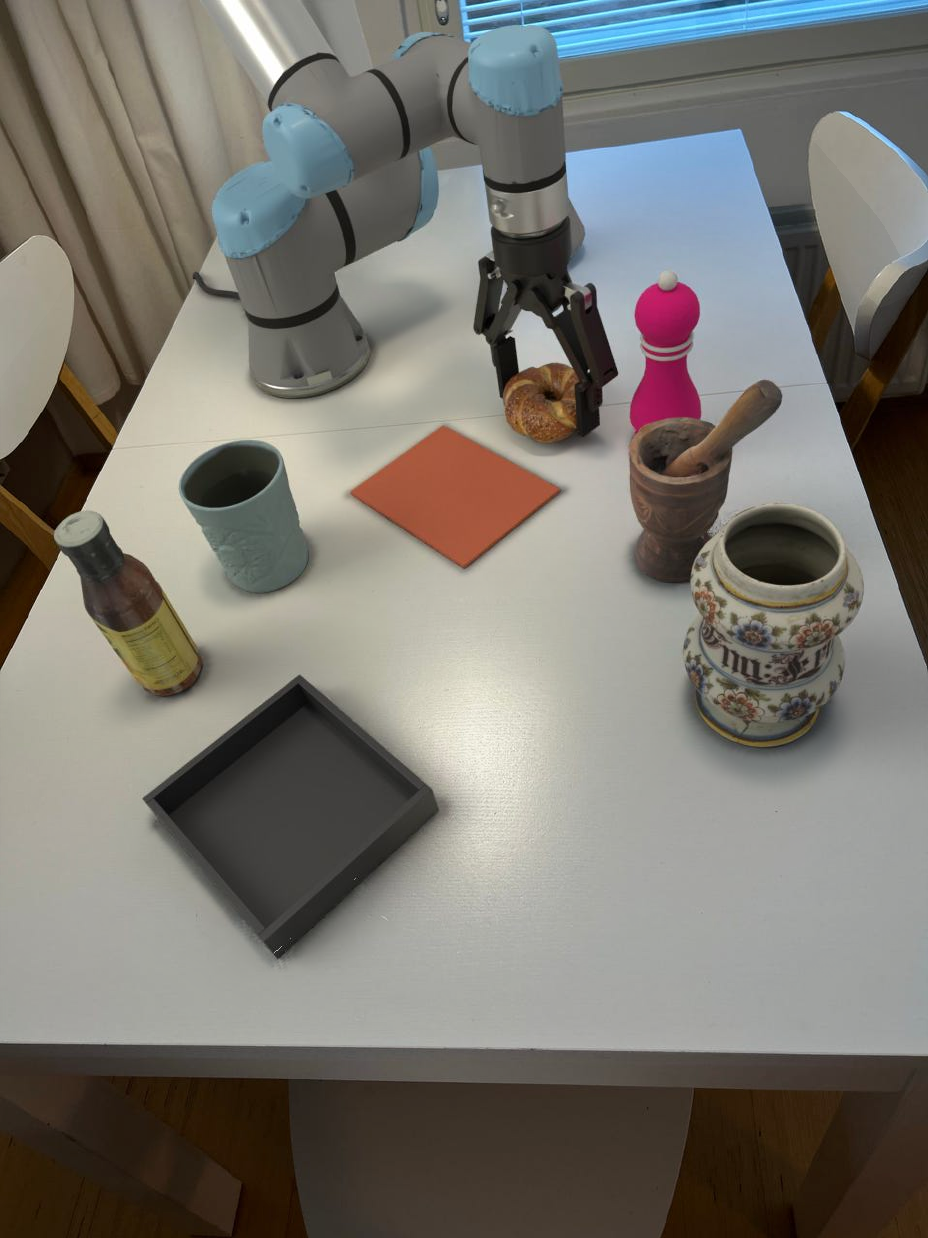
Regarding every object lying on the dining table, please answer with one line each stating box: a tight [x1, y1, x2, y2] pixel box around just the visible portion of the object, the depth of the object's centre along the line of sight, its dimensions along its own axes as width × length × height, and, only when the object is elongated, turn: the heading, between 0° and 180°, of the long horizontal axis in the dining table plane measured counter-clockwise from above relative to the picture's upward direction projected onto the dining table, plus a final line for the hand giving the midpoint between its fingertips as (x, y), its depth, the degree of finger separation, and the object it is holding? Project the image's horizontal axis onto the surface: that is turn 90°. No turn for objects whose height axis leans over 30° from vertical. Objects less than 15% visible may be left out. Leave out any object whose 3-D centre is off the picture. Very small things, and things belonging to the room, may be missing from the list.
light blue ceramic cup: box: [178, 439, 310, 594], centre depth 93 cm, size 10×10×12 cm
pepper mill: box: [629, 269, 702, 435], centre depth 92 cm, size 7×7×20 cm
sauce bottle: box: [53, 510, 203, 697], centre depth 81 cm, size 7×6×20 cm
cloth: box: [349, 425, 561, 569], centre depth 100 cm, size 18×14×1 cm
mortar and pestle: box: [628, 379, 783, 583], centre depth 82 cm, size 12×9×20 cm
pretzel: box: [502, 362, 579, 444], centre depth 103 cm, size 12×11×4 cm
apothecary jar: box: [682, 502, 865, 748], centre depth 71 cm, size 12×12×18 cm
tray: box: [142, 674, 440, 960], centre depth 76 cm, size 17×16×3 cm
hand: (548, 410), depth 104 cm, fingers closed on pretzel, 11 cm apart
